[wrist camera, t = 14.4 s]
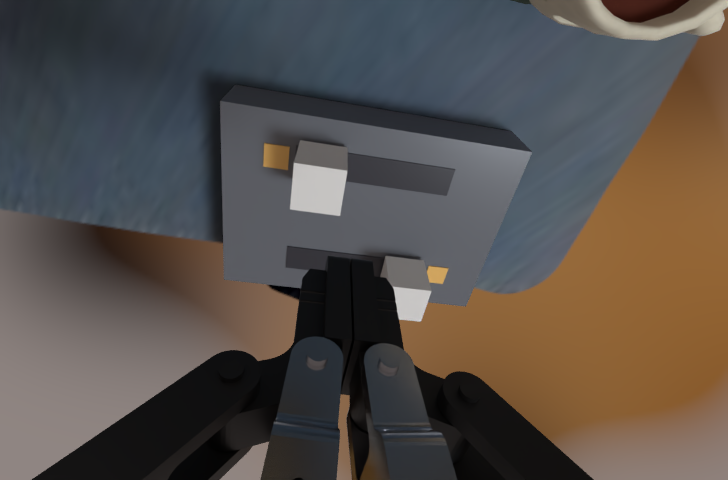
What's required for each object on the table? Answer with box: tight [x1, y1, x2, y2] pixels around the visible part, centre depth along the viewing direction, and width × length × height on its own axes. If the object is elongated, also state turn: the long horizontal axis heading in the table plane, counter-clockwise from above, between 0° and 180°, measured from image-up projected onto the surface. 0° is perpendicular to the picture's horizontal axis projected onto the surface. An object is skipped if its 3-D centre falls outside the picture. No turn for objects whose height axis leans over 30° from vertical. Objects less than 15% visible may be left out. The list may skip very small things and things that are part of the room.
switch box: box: [220, 84, 532, 306], centre depth 31 cm, size 20×14×4 cm
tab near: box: [290, 140, 348, 216], centre depth 25 cm, size 3×3×4 cm
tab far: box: [380, 256, 432, 322], centre depth 30 cm, size 3×3×4 cm
